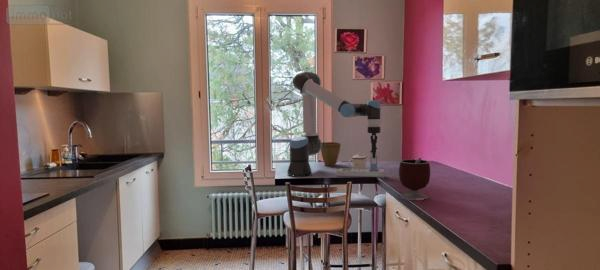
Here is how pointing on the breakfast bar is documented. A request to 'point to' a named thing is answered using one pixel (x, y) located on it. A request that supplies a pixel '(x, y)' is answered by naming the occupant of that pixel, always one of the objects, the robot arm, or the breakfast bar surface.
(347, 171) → the panel
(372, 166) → the plug
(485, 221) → the breakfast bar surface
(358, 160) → the teacup with lid
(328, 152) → the plant pot
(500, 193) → the breakfast bar surface
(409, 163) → the mate gourd
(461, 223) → the breakfast bar surface
